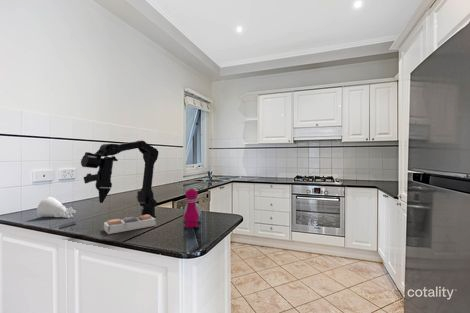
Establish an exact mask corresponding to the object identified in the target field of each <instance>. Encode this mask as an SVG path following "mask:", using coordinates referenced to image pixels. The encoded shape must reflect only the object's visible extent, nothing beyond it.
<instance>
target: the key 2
mask: <svg viewBox="0 0 470 313" xmlns="http://www.w3.org/2000/svg"><path fill="white" fill-rule="evenodd" d="M138 217H139V220H141V221H142V220H149V219H151V216H150V215H148V214H147V215H141V214H140V215H138Z"/></svg>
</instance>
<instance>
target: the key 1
mask: <svg viewBox="0 0 470 313" xmlns="http://www.w3.org/2000/svg"><path fill="white" fill-rule="evenodd" d="M121 220H122V219H120V218H114V219H113V218H112V219H108V220H107V222H108V225H109V226H111V225H118V224H121Z"/></svg>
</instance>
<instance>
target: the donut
mask: <svg viewBox="0 0 470 313" xmlns="http://www.w3.org/2000/svg"><path fill="white" fill-rule="evenodd" d="M186 210H187V203H186V204H185V206H184V208H183V213H184V215H185V212H186ZM196 210H197V212H198V215H199V217H200V215H201V212H202V211H201V206H200V205H199V204H198V203H197V202H196Z"/></svg>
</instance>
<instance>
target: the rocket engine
mask: <svg viewBox="0 0 470 313" xmlns="http://www.w3.org/2000/svg"><path fill="white" fill-rule="evenodd" d="M36 213H37V215H38V216H39V217H43V218H53V217H54V218H62V217H63V218H64V219H71V217H72V218H73V214H76V213H77V210H75V209H73V207H71V206H70V207H69V208H68V207H67V208H66V206H65V205H63V203H61V202H60V201H59V200H58V199H57V198H55V197H52V196H49V197H45V198H43V200H41V201H40V202H39V204H38V206H37V208H36ZM72 213H73V214H72Z"/></svg>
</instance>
